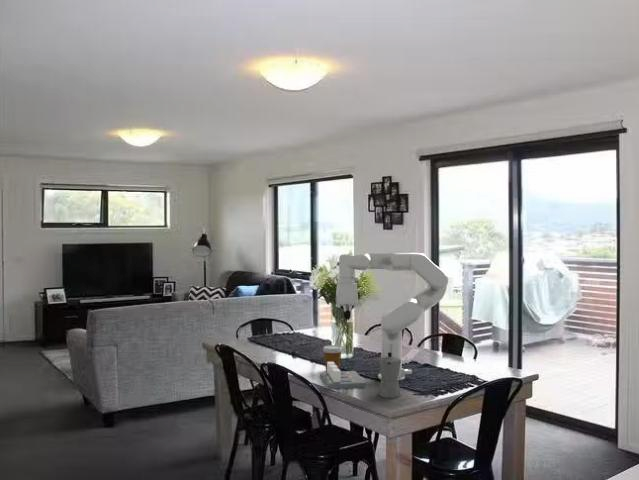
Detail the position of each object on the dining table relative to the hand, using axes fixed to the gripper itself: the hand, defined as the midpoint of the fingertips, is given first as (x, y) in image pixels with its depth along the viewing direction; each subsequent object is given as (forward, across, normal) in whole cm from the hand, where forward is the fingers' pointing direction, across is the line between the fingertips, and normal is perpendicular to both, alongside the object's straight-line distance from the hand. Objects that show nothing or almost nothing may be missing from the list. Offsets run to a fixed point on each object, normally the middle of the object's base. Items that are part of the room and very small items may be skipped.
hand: (347, 319), depth 287 cm
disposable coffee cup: (+27, +5, -11) cm, 30 cm away
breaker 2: (+25, +8, +9) cm, 28 cm away
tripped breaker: (+25, +8, +16) cm, 31 cm away
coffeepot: (+27, -12, +32) cm, 44 cm away
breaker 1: (+25, +8, +2) cm, 26 cm away
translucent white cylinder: (+28, -33, -23) cm, 49 cm away
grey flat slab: (+27, +4, +9) cm, 29 cm away
